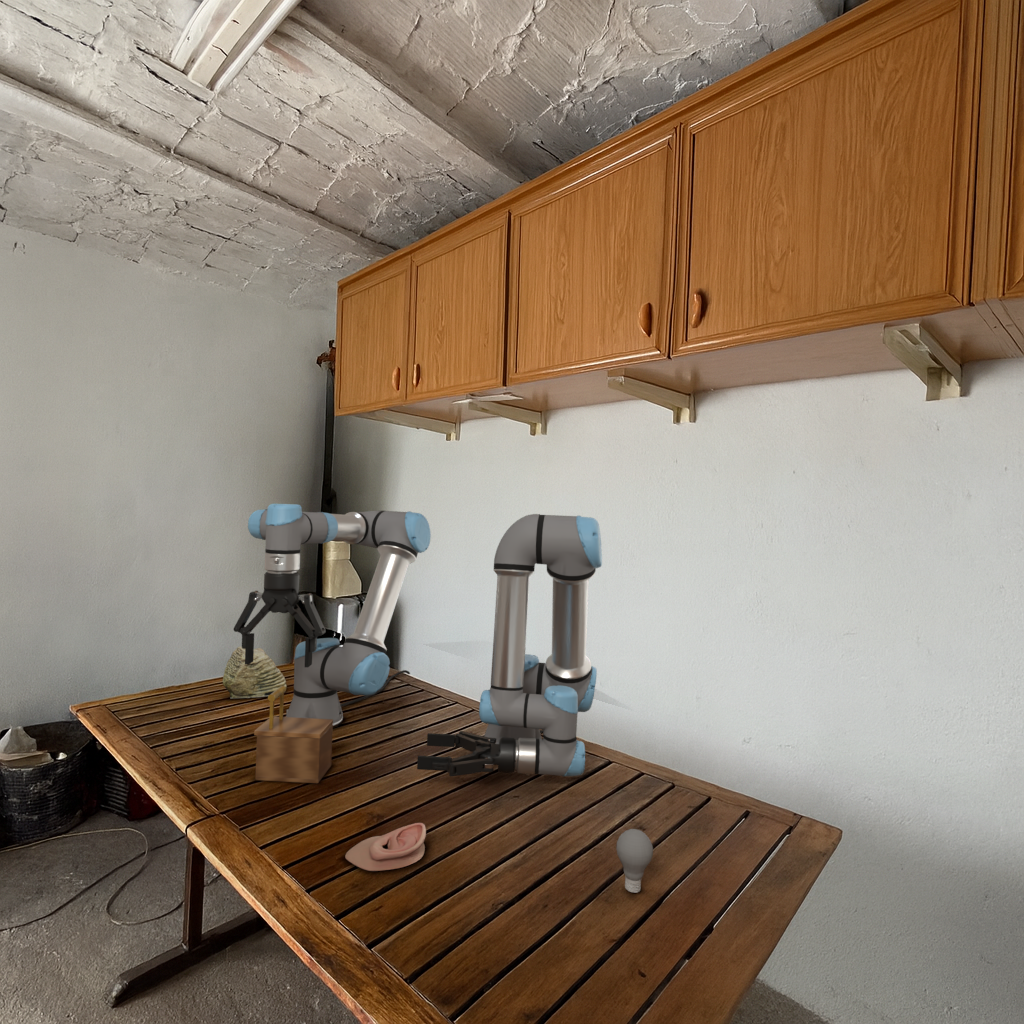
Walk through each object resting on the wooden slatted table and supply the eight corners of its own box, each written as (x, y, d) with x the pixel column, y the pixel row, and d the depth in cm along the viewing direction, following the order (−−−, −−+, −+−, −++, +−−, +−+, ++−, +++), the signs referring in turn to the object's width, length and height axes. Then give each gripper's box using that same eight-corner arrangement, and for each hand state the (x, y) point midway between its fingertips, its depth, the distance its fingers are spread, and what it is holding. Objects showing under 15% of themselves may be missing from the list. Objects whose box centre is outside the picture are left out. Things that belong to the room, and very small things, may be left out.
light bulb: (610, 879, 108) (613, 822, 108) (644, 879, 109) (647, 822, 109) (619, 902, 102) (622, 840, 102) (655, 901, 103) (658, 840, 103)
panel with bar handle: (254, 735, 140) (255, 695, 140) (271, 720, 149) (272, 683, 149) (319, 738, 140) (321, 699, 139) (332, 723, 149) (334, 686, 149)
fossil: (218, 695, 195) (220, 647, 195) (278, 685, 208) (279, 640, 207) (228, 703, 189) (230, 653, 188) (289, 692, 201) (290, 645, 201)
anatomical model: (337, 842, 109) (366, 811, 120) (336, 865, 109) (365, 832, 120) (410, 854, 106) (432, 821, 117) (409, 878, 106) (432, 842, 118)
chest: (255, 780, 140) (256, 735, 140) (272, 762, 150) (273, 720, 149) (318, 783, 140) (319, 738, 140) (331, 765, 149) (332, 723, 149)
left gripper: (219, 570, 140) (216, 665, 141) (331, 576, 140) (327, 671, 140) (235, 567, 148) (232, 657, 148) (341, 572, 147) (337, 662, 148)
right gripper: (514, 797, 131) (412, 791, 131) (516, 750, 156) (430, 746, 156) (515, 760, 131) (413, 755, 131) (517, 720, 156) (431, 715, 156)
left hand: (278, 664), depth 144 cm, fingers open, 13 cm apart
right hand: (422, 750), depth 144 cm, fingers open, 13 cm apart
